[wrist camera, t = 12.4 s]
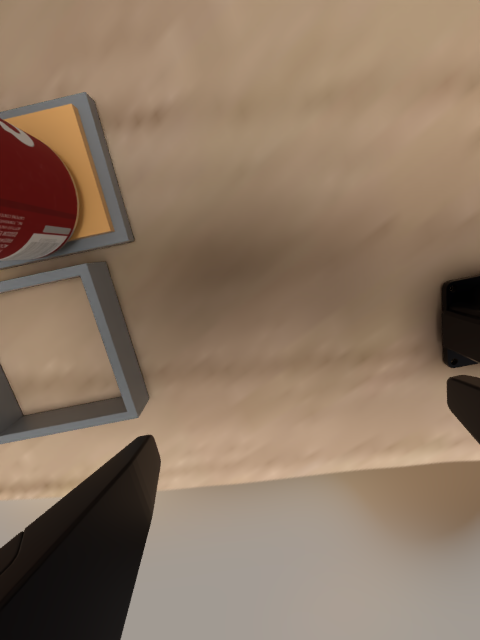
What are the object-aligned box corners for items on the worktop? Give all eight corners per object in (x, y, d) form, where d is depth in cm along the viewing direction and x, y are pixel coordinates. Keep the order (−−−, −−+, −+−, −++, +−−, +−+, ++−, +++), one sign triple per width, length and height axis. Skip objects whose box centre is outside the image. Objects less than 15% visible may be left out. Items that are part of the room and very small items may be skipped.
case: (105, 261, 19) (86, 263, 16) (149, 398, 21) (138, 417, 19) (-42, 293, 19) (-82, 299, 17) (19, 424, 22) (-9, 445, 19)
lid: (94, 101, 16) (79, 85, 15) (134, 240, 18) (125, 240, 17) (-51, 135, 17) (-80, 123, 15) (4, 269, 19) (-17, 270, 17)
